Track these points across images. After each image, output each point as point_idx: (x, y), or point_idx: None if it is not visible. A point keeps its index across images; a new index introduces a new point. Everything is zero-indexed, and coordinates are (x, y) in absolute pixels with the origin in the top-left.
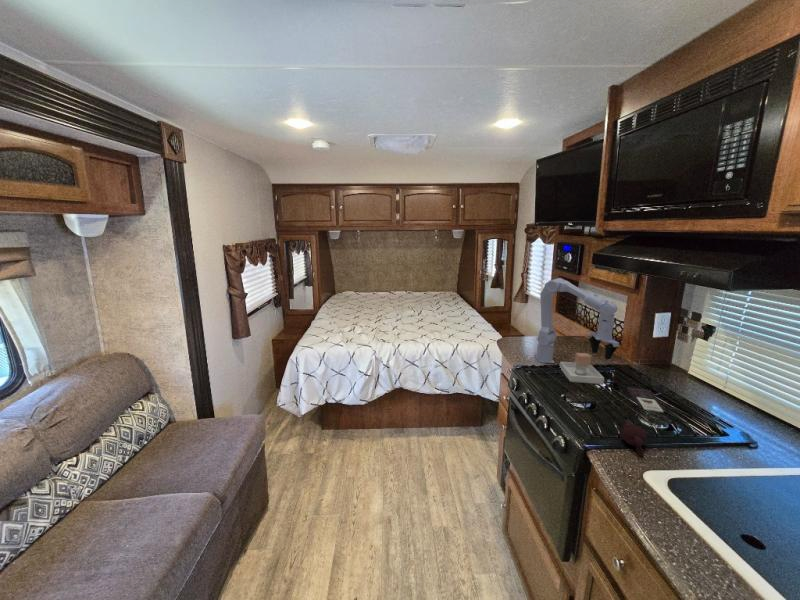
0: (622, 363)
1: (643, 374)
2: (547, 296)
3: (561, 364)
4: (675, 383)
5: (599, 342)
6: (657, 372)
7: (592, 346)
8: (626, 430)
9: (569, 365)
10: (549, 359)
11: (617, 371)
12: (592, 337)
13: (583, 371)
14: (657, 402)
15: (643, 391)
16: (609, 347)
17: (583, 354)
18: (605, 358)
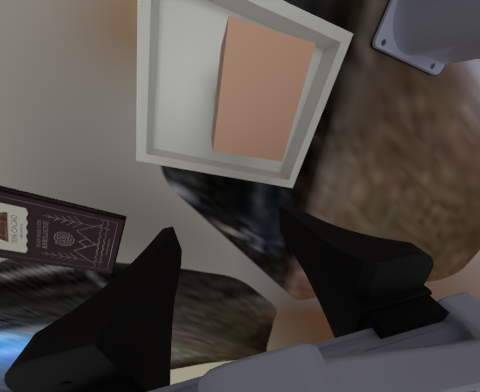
0: (293, 285)
1: (224, 299)
2: None
3: (324, 23)
4: (173, 331)
5: (322, 304)
6: (233, 325)
7: (312, 225)
8: None
9: (313, 91)
10: (407, 5)
11: (249, 253)
12: (418, 305)
13: (214, 98)
14: (3, 251)
15: (92, 251)
16: (16, 360)
17: (265, 103)
18: (170, 228)
